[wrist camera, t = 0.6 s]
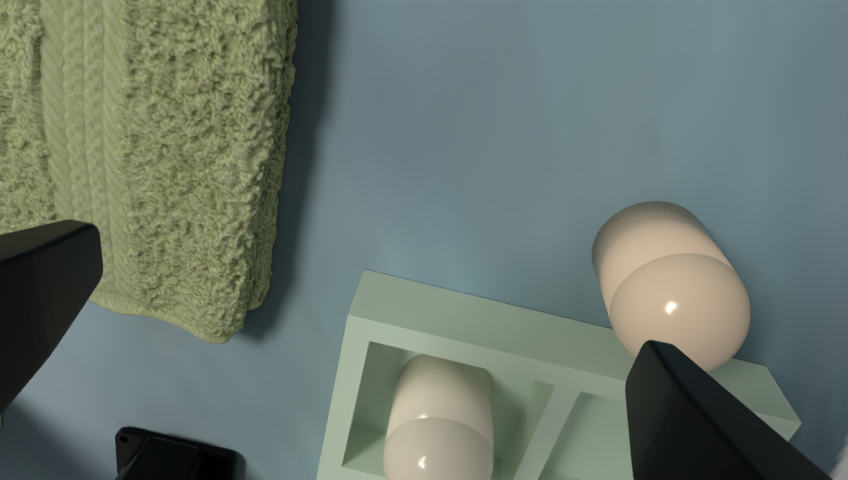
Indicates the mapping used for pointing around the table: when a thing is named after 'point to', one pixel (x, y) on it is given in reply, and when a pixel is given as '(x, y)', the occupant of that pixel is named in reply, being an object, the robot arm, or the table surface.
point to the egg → (440, 422)
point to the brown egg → (670, 284)
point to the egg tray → (504, 383)
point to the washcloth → (152, 144)
